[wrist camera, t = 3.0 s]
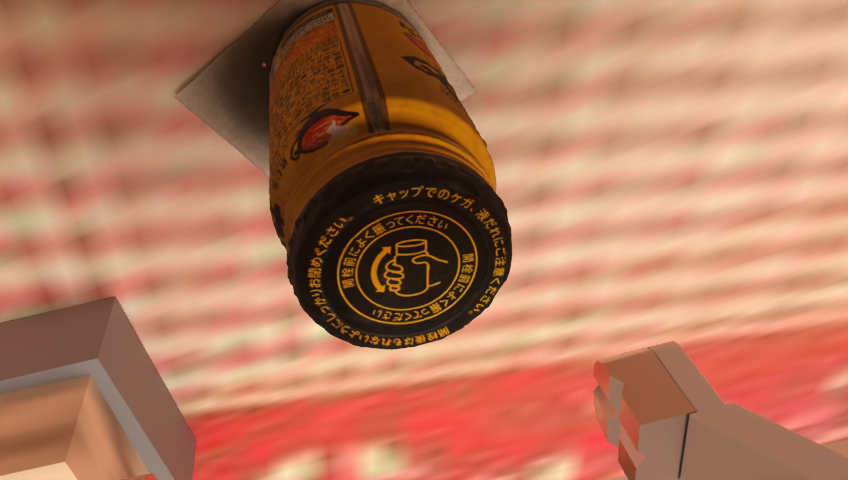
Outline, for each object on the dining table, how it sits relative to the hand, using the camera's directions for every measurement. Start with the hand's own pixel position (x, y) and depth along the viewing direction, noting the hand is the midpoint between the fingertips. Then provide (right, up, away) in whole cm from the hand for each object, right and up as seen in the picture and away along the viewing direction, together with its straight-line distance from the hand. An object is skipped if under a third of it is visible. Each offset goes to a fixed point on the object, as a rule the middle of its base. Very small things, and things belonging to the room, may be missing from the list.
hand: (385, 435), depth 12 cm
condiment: (-3, +9, +13) cm, 16 cm away
